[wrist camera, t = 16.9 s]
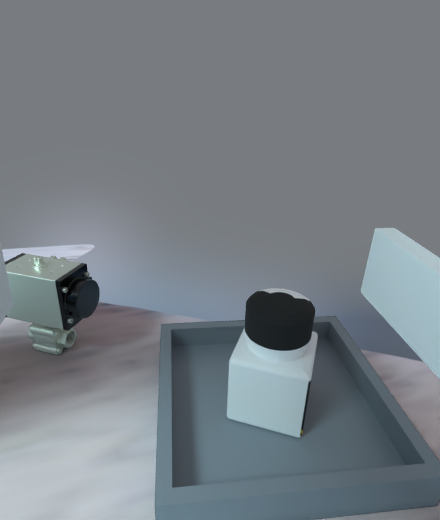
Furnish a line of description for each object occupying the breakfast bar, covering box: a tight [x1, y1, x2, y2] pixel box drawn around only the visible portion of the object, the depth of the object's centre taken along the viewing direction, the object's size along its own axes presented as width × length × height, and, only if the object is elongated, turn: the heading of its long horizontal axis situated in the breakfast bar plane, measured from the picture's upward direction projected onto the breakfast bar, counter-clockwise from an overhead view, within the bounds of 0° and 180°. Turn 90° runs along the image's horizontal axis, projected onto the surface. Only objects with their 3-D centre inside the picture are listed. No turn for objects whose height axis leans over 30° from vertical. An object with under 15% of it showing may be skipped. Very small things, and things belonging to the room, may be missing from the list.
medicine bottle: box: [227, 288, 318, 438], centre depth 36 cm, size 7×7×12 cm
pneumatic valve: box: [5, 253, 99, 355], centre depth 45 cm, size 6×12×12 cm, turn 73°
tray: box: [155, 316, 440, 520], centre depth 38 cm, size 22×22×4 cm
